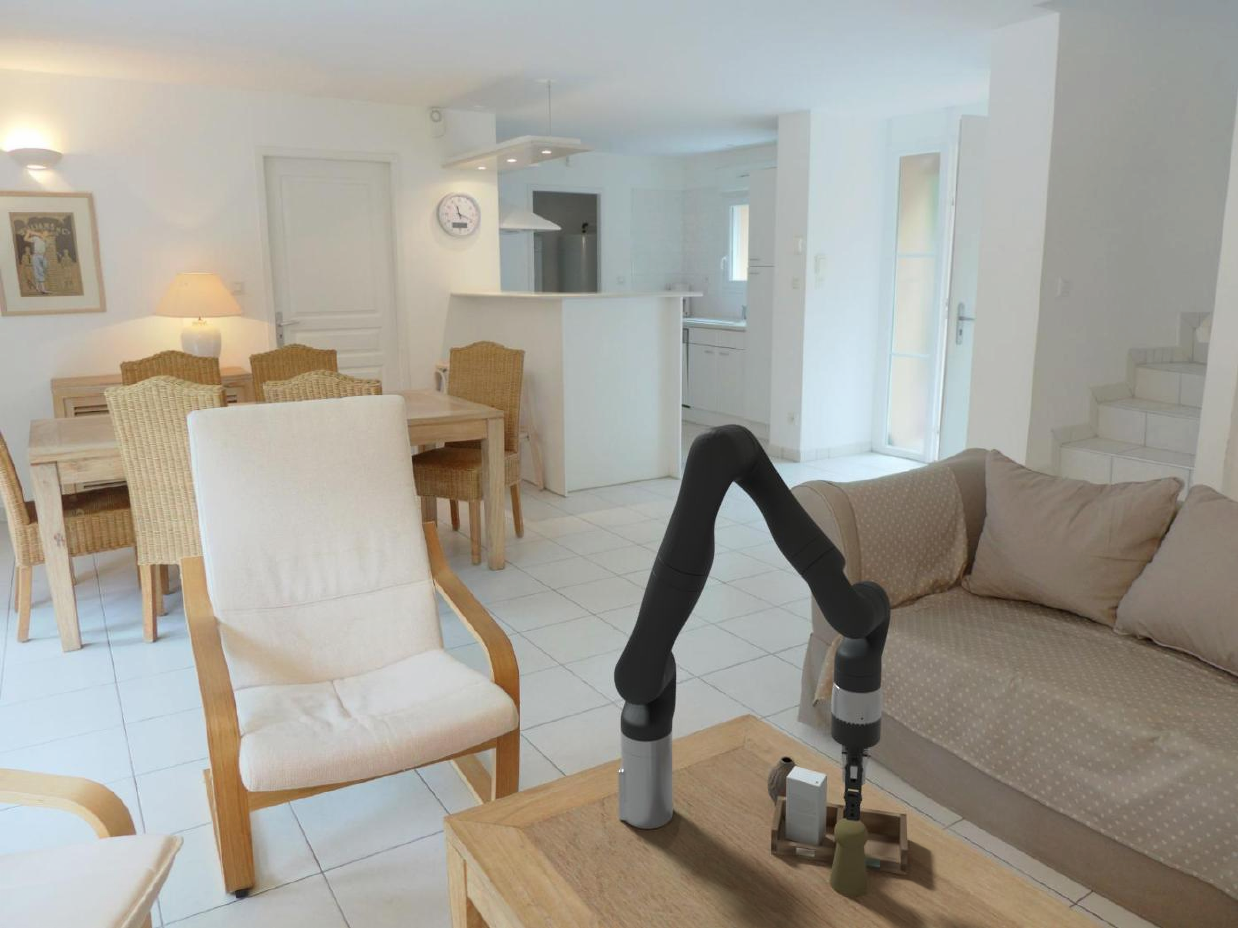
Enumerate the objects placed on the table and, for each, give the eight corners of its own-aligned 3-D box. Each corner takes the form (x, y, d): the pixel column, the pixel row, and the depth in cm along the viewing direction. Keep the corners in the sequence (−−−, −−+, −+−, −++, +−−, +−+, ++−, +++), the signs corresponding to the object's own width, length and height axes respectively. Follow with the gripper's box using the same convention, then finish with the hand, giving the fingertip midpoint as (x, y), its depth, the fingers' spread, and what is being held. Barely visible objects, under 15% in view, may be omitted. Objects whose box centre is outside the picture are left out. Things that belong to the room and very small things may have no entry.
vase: (804, 814, 164) (806, 771, 162) (766, 811, 165) (767, 768, 163) (804, 793, 170) (806, 751, 168) (767, 789, 172) (768, 747, 170)
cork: (846, 901, 142) (849, 839, 139) (821, 878, 147) (823, 818, 145) (876, 888, 145) (879, 828, 142) (850, 866, 150) (853, 808, 147)
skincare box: (826, 836, 157) (828, 774, 154) (818, 849, 153) (820, 786, 151) (793, 825, 160) (794, 764, 157) (784, 838, 156) (785, 776, 154)
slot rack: (770, 853, 153) (771, 829, 152) (777, 818, 163) (777, 795, 162) (906, 875, 147) (907, 850, 146) (904, 837, 157) (906, 814, 156)
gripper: (881, 735, 131) (877, 834, 135) (881, 690, 145) (877, 781, 148) (828, 729, 133) (826, 826, 137) (833, 686, 147) (830, 775, 150)
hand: (853, 803), depth 143 cm, fingers open, 8 cm apart
